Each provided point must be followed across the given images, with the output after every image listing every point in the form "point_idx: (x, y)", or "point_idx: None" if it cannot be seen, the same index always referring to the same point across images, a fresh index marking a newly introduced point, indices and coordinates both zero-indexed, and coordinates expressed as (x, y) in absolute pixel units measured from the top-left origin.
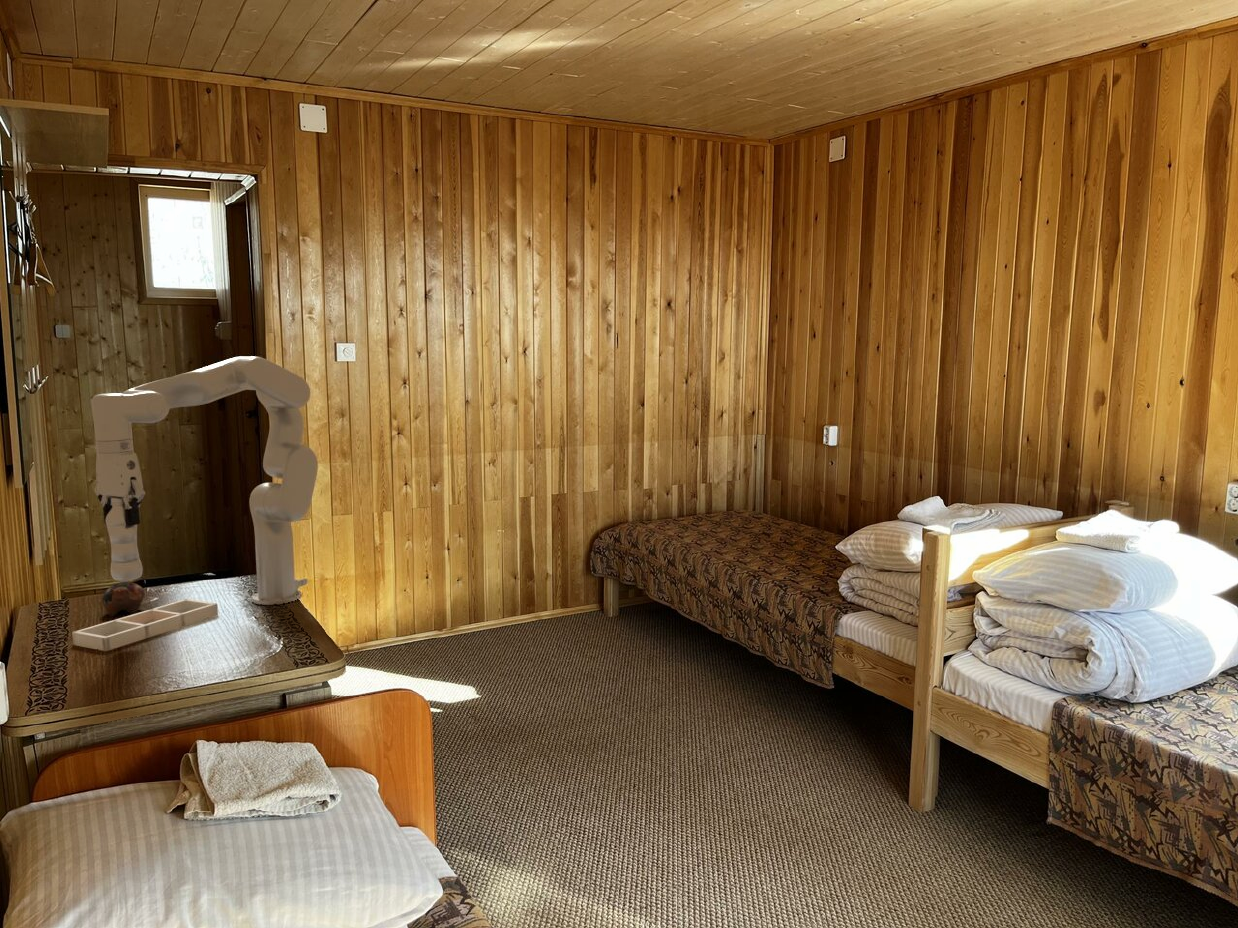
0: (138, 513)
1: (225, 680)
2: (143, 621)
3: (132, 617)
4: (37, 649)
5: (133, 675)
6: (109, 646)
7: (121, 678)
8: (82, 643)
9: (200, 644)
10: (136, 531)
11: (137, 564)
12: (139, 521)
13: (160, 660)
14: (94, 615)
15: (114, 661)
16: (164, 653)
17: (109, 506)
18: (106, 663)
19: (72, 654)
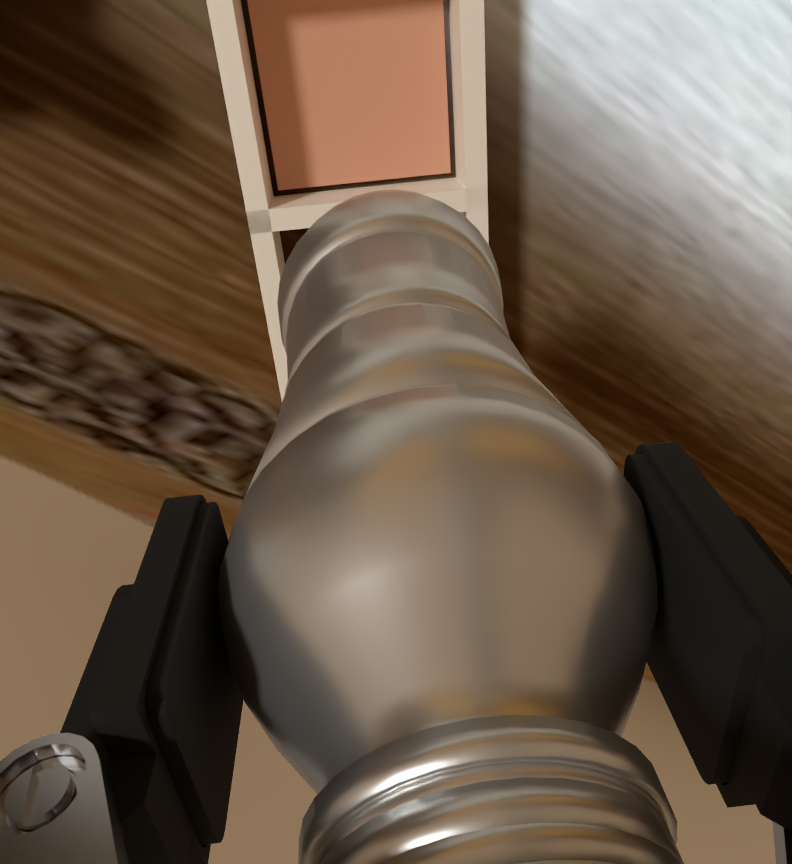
0: (745, 541)
1: None
2: (245, 44)
3: (255, 122)
4: (231, 484)
5: (787, 461)
6: None
7: (770, 491)
8: None
9: (786, 119)
10: (535, 377)
11: (501, 291)
12: (683, 455)
13: (767, 336)
14: None
15: (613, 421)
16: (721, 279)
17: (180, 811)
18: (605, 444)
19: None
